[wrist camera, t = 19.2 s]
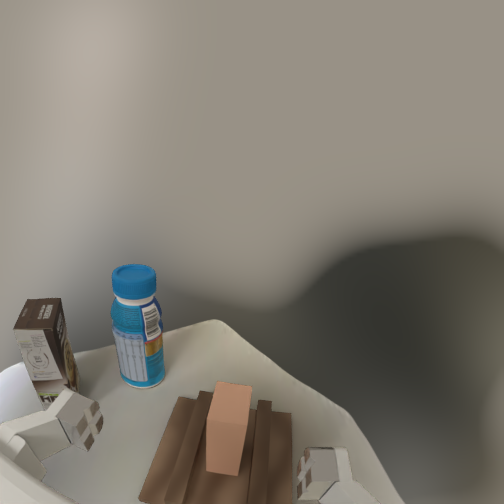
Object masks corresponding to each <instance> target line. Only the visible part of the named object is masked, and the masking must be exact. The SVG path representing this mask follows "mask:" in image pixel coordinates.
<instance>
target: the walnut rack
mask: <svg viewBox="0 0 504 504" xmlns="http://www.w3.org/2000/svg"><path fill="white" fill-rule="evenodd" d="M212 398H213V393H210V392H205V391H200V392H199V395H198V398H197V400H193V399H188V398H184V397H178V400H177V402H176V405H175V407H174V410H173V412H172V414H171V417H170V419H169V422H168V424H167V427H166V429H165V432H164V434H163V437H162V439H161V442H160V444H159V447H158V449H157V452H156V454H155V457H154V459H153V462H152V464H151V467H150V469H149V472H148V475H147V477H146V480H145V482H144V485H143V487H142V490H141V492H140V495H139V498H138V499H139V500H140V501H142V502H145V503H148V504H292V431H291V413H282V412H271V405H272V401H265V400H258V405H257V410H253V409H249V416H248V424H247V430H246V435H245V441H244V446H243V451H242V456H241V462H240V467H239V472H238V476H233V475H227V474H220V473H214V472H209V471H206V430H207V416H208V413H209V409H210V405H211V402H212Z"/></svg>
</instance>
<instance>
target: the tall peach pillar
mask: <svg viewBox="0 0 504 504" xmlns="http://www.w3.org/2000/svg"><path fill="white" fill-rule="evenodd" d="M251 393H252V386H246V385H239V384H232V383H226V382H220V381H217V383H216V387H215V391H214V394H213V398H212V402H211V405H210V409H209V413H208V416H207V430H206V471H209V472H214V473H220V474H227V475H233V476H238V472H239V467H240V462H241V456H242V451H243V446H244V441H245V435H246V430H247V424H248V416H249V409H250V401H251Z"/></svg>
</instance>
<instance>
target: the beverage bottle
mask: <svg viewBox="0 0 504 504" xmlns="http://www.w3.org/2000/svg"><path fill="white" fill-rule="evenodd" d="M112 285H113V292H114V294H115V296H116V298H115V300H114V302H113V304H112V308H111V317H112V319H113V322H112V332H113V335H114V338H115V344H116V350H117V355H118V361H119V366H120V373H121V376H122V379H123V380H124V381H125V382H126V383H127V384H128V385H130V386H132V387H135V388H151V387H154V386H156V385H158V384H159V383H160V382H161V381H162V380H163V378H164V376H165V368H164V358H163V339H162V332H163V324H162V321H161V319H160V318H161V314H162V312H161V308H160V305H159V303H158V301H157V300H156V298H155V296H154V294H155V292H156V273H155V271H154V269H152V268H151V267H148V266H146V265H140V264H130V265H123V266H120V267H118V268H116V269H115V270H114V271H113V273H112Z"/></svg>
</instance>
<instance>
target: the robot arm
mask: <svg viewBox="0 0 504 504" xmlns="http://www.w3.org/2000/svg"><path fill="white" fill-rule="evenodd" d="M99 408H100V407H99V404H98V402H96V401H94V400H91V399H89V398H87V397H85V396H82V395H80V394H78V393H76V392H74V391H72V390H70V389H67V388H66V389H64V390H63V391H62V392H61V393H60V395H59V396H58V397H57V398H56V399H55V401H54V402H53V403H52V404H51V405H50V407H49V408H48V409H47V410H46V411H44V410H42V411H39V412H36V413H33V414H30V415H27V416H23V417H20V418H17V419H14V420H10V421H7V422H3V423H2V424H1V425H0V504H79V503H77V502H75V501H73V500H71V499H70V498H68V497H66V496H64V495H62V494H61V493H59V492H57V491H56V490H54V489H52V488H51V487H49V486H47V485H46V484H44V483H43V482H41V481H42V479H43V477H44V476H45V474H46V469H45V467H44V466H43V465H42V464H41V462H40V461H41V460H43V459H45V458H47V457H49V456H51V455H53V454H55V453H57V452H59V451H61V450H63V449H65V448H67V447H68V446H70V445H71V444H72V445H74V446H76V447H79V448H81V449H83V450H85V451H87V452H88V451H89V449H90V447H91V446H92V444H93V442H94V437H93V436H94V435H97V434H99V432H100V430H101V429H102V425H103V416H102V414H101V413H100V412H99V411H98V409H99ZM297 478H298V479H299V480H300V481H301V482H300V483H299V485H298V486H297V493H298V500H319V502H320V504H381V503H380V502H379V501H378V500H377V499H375V498H374V497H373V496H372V495H371V494H370V493H369V492H368V491H367V490H366V489H365V488H364V487H363V486H362V485H361V484H360V483H359V482H358V481H353V477H352V471H351V466H350V461H349V456H348V450H347V449H346V448H345V447H340V448H332V447H308V448H306V450H305V451H304V456H303V457H301V459H300V461H299V464H298V468H297Z"/></svg>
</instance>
